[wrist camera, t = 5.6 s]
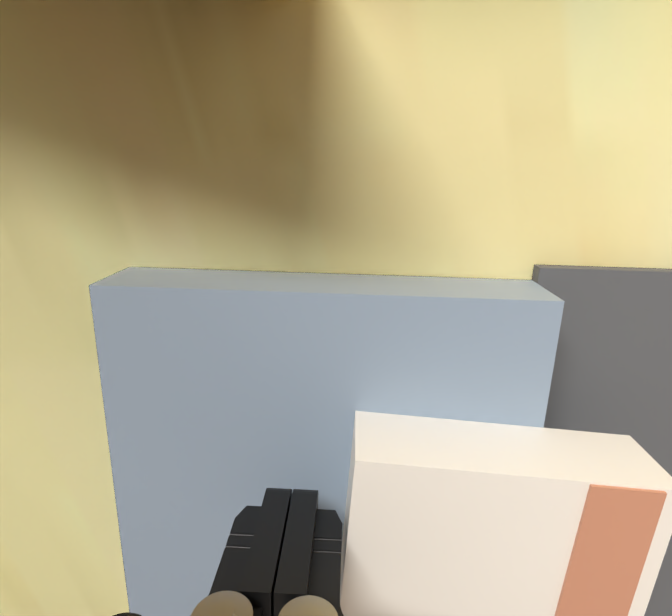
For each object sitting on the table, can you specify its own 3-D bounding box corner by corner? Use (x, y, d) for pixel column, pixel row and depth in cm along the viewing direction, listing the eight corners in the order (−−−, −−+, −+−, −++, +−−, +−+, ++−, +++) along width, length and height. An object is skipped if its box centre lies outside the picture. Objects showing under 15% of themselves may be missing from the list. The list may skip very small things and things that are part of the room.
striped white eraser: (355, 410, 14) (355, 462, 12) (629, 435, 14) (689, 493, 12) (339, 561, 16) (337, 636, 13) (586, 584, 16) (630, 665, 13)
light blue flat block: (129, 266, 16) (89, 285, 13) (532, 280, 15) (564, 301, 13) (158, 563, 19) (130, 620, 17) (488, 580, 19) (508, 641, 16)
